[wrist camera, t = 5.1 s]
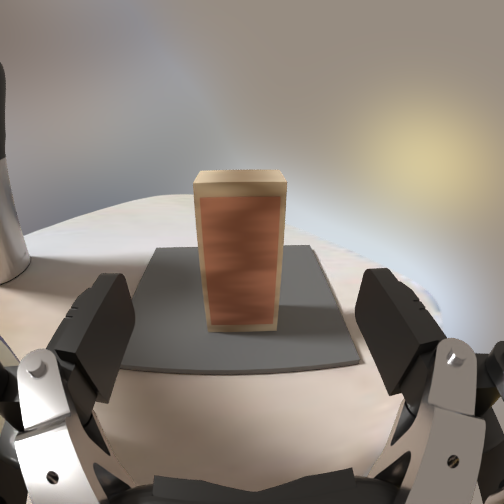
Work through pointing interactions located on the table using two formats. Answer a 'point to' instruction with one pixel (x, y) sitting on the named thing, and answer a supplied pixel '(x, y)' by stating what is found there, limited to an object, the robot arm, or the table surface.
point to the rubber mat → (234, 343)
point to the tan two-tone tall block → (240, 247)
